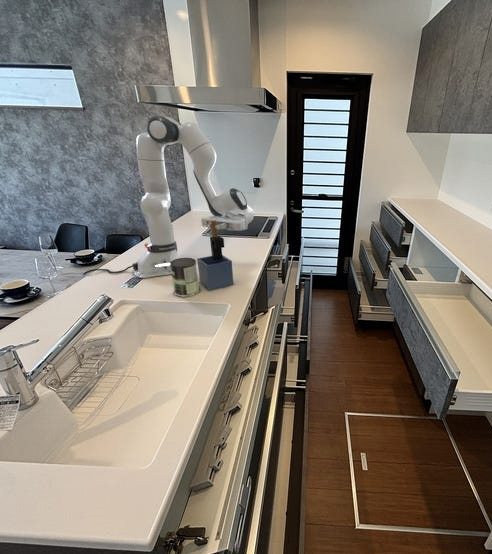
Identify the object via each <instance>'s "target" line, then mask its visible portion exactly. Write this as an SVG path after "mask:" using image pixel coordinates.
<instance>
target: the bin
mask: <svg viewBox="0 0 492 554" xmlns="http://www.w3.org/2000/svg"><path fill="white" fill-rule="evenodd" d="M211 257H212V255H209V256H203V257H198V258H196V263H197V269H198V270H197V271H198V278H199V283H200V284H201V285H203V286H204V288H206V289H207V290H208V291H215V290H218V289H222V288H226V287H230V286H233V285H234V273H233V261H232V259H230V258H228V257H227V256H225V255H223V254H222V259H217V260H213V259H212V258H211Z"/></svg>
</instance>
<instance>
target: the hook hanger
mask: <svg viewBox="0 0 492 554" xmlns="http://www.w3.org/2000/svg"><path fill="white" fill-rule="evenodd" d="M215 225H217V221H216V220H212V221H211V229H210V230H211V236H210V237H209V241H210V251H211V256H212V257H211V258H212V259H213V260H217V259H222V255H223V248H225V239H224V237H222V236H220V235H219V232H218V229H215Z"/></svg>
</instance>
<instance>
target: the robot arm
mask: <svg viewBox="0 0 492 554" xmlns="http://www.w3.org/2000/svg"><path fill="white" fill-rule="evenodd" d="M146 130H147V132H141V133H139V134H138V135H137V137H136V158H137V165H138V166H137V167H138V173H139V179H140V181H141V183H142V187H143V191H144V195H143V196H142V197H141V199H140V205H139V207H140V210H141V212H142V214H143V218H144V221H145V224H146V226H147V230H148V235H149V240H150V243H147V242H146V243H144V248H145V249H147V251H146V252H145V253H144V254H143V255H142V256H140V258H139V259H138V261H137V262H134V263H132V265H129V266H127V267H126V268H125V269H121V270H117V271H113V270H112V271H111V270H110V269H108V268H93V269H89V270H87V271H85V272H84V273H82V276H86V275H87V274H88V273H90V272H97V271H106V272H108V273H110V274H119V273H123V272H125V271H127V270H129V269H131V268H132V269H133V275H134V276H135V277H136V278H139V279H147V278H154V277H155V278H156V277H162V276H168V275H172V272H171V266H170V262H171V261H172V260H175V259H178V258H180V257H179V255H178V245H177V241H176V240H175V231H174V227H173V224H172V221H171V217H170V212H169V209H170V208H171V206H172V198H171V194H170V188H169V187H170V186H169V183H168V179H167V169H166V161H165V148H166V147H170V146H174V145H177V144H180V145H182V147H183V148H184V149H185V151H186V152H187V153H188V155H189V157H190V159H191V161H192V165H193V169H192V172H193V175H194V178H195V180H196V182H197V184H198V187H199V188H200V190H201V193H202V195H203V196H204V199H205V201H206V203H207V206H208V210H209V212H210V213H211V215H210V216H205V217H201V220H200V221H201V222H200V223H201V226H202V227H204V228H208V229H210V230H212V229H211V221H212V220H216V221H217V225H215V229H217V231H218V230H227V231H230V232H231V231H236V232H237V231H238V232H241V231H247V230H248V227H249V226H248V225H249V224H250V223H252V221H253V220H254V218H255V217H254V216H255V211H254V210H253V208H252V207H251V206H249V205H248V202H247V199H246V196H245V194H244V193H243V192H242V191H241V190H239V189H238V188H234V187H231V188H229V189H228V190H226V191H224V192H223V193H221V194H219V195H217V194H216V191H215V189H214V187H213V185H212V183H211V181H210V174H211V171H212V170H213V168H214V166H215V165H216V162H217V152H216V150H215V148H214V146H213V144H212V143H211V141H210V140H209V138H208V136H207V135H206V134H205V132H204V131H203V130H202V129H201V127H199V125H198V124H197V123H195V122H193V121H189V122H185V123H183V124H181V122H180V121H178V120H177V119H174V118H172V117H169V116H163V115H154V116H153V117H151V118H149V120H148V121H147V124H146Z"/></svg>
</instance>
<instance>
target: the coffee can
mask: <svg viewBox="0 0 492 554" xmlns="http://www.w3.org/2000/svg"><path fill="white" fill-rule="evenodd" d="M170 266H171V272H172V274H171V277H172V283H173V284H172V285H173V290H174V295H175V296H177V297H182V298H185V297H192V296H195V295H196V294H197V295H198V293H199V292H200V286H199V279H198V278H199V276H198V270H197V269H198V268H197V259H195V258H192V257H179V258H178V259H175V260H172V261H171V262H170Z"/></svg>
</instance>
